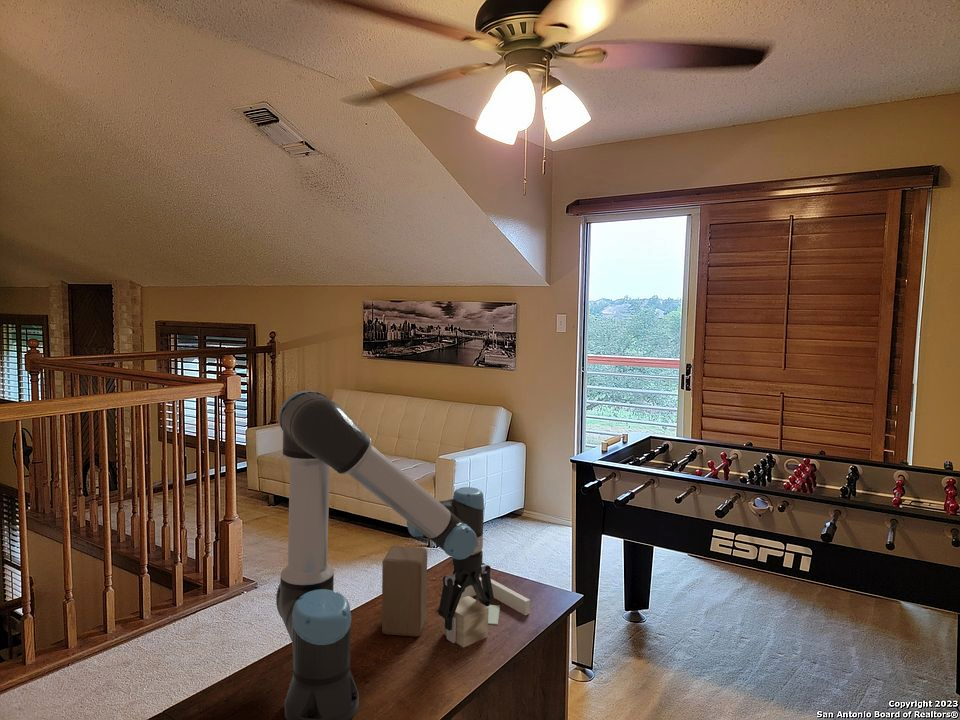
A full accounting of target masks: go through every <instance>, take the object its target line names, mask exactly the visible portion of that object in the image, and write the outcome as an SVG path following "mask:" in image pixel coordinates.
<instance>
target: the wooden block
mask: <svg viewBox="0 0 960 720" xmlns="http://www.w3.org/2000/svg"><path fill="white" fill-rule="evenodd" d="M381 566H382V571H381V572H382V576H381V577H382V578H381V579H382V581H381V631H382V634H384V635H390V636H391V635H392V636H403V637H405V636H406V637H419V636H420V634H421V632H422V630H423V627H424V625H425V622H426V619H427V593H428V590H427V589H428V586H427V584H428V550H427V548H424V547H412V546H409V547H408V546H395V545H394V546H391V547H390V548H389V550H388V552H387V553H386V555H385V556H384V557H383V560H382V564H381Z"/></svg>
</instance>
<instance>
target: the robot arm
mask: <svg viewBox="0 0 960 720" xmlns="http://www.w3.org/2000/svg"><path fill="white" fill-rule="evenodd" d="M278 418H279V421H278V422H279V426H280V428H281V430H282V456H283V457H285V458H286V459H287V460H288V461H289V481H288V482H289V483H288V485H289V488H288V490H289V491H288V492H289V493H288V497H289V498H288V500H289V501H288V540H287V542H288V545H287V566H285V567H284V568H283V569H282V570H281V572H280V582H279V585H278V587H277V589H276V596H275V603H276V604H275V605H276V608H277V612H278V614H279V616H280V618H281V619H282V621H283V624H284V627H285V629H286V631H287V633H288V636H289V638H290V640H291V644H292V678H291V681H290V684H289V687H288V690H287V693H286V695H285V696H286V697H285V699H284V717H285V719H286V720H351V719H352V718H353V717H354V716H355V715H356V713H357V711H358V709H359V704H360V703H359V702H360V701H359V690H358V688H357V685H356V682H355V679H354V676H353V673H352V671H351V670H352V669H351V624H352V613H351V607H350V602H349V600H348V599H347V598H346V597H345V596H344V595H343V594H342V593H340V592H338V591H337V592H335V591H334V589H335V588H334V586H335V583H334V581H335V579H334V576H335V575H334V574H335V572H334V571H335V570H334V568H333V567H332V566H331V565H330V564H329V563H328V553H329V552H328V549H329V548H328V547H329V543H328V542H329V512H330V510H329V508H330V506H329V505H330V504H329V502H330V471H331V468H332V469H333V470H334V471H336V472H337V473H338V474H340V475H345V474H347V475H349V476H350V477H351V478H352V479H354V480H355V481H356V482H358V483H359V484H360V485H361V486H362V487H364V488H365V489H366V490H368V491H369V492H370V493H371V494H373V495H374V496H375V497H377V498H378V499H379V500H380V501H382V502H383V503H384V504H385V505H386V506H387V507H388V508H390V509H391V510H392V511H394V512H395V513H396V514H398V515H399V516H401V518H403V520H405V521H406V526H407V530H408V533H409V534H410V535H411V536H412V537H414V538H415V537H416V538H417V537H423V538H424V536H425V537H427V538H428V539H429V540H430V541H431V542H432V543H434V544H435V545H436V546H438V547H439V548H440V549H441V550H443V551H444V553H445V554H446V555H448V556H449V557H451V558H452V566H453V572H452V574H450V575H448V576H447V575H444V576H443V577H442V582H443V583H442V584H443V585H442V591H441V596H440V601H439V606H438V612H437V614H438V615H439V616H440V617H442V618H443V619H444V618H445V629H447V636H446V640H448V641H449V642H450V643H452V644H456V617H454V614H455V611H456V608H457V606H458V603H459V600H460V598H461V595H462V593H463V592H464V591H465V588H466V587H468V586H470V585H472V586H473V588H474V591H475V593H476V595H475V596H476V597H477V599H478V600H477V601H478V602H480V603H482V604H484V605H485V606H489V605H491V602H490V601H493V600H494V599H495V598H494V596H493V590H492V584H491V579H492V578H491V565H489V564H486V563H485V562H483V558H484V557H483V553H484V552H483V545H484V511H485V503H484V502H485V500H484V493H483V492H482V490H481V489H478V488H476V487H470V486H465V487H459V488H457V489H455V490H454V491H453V496H452V498H449V499H446V500H438V499H436V498H435V497H434V496H433V495H432V494H431V493H429V492H428V491H427V490H426V489H425V488H423V487H422V486H421V485H420V484H419V483H417V482H416V481H415V480H414V479H413V478H412V477H411V476H409V475H408V474H407V473H406V472H404V471H403V470H402V469H401V468H399V467H398V466H397V465H396V464H395V463H394V462H393V461H392V460H390V459H389V458H388V457H387V456H385V455H384V454H383V453H382V452H381V451H379V450H378V449H377V448H376V447H375V446H373V444H372V439H371V437H370V436H369V435H368V434H367V433H366V432H365V431H364V430H362V428H360V427H359V425H357V424H356V423H355V421H354V420H353V419H352V418H351V417H350V416H349V414H348V413H347V412H346V411H345V410H344V409H343V408H342V406H340V405H339V404H338V403H336V402H334V401H332V400H331V398H329V397H328V396H326V395H325V394H323V393H321V392H319V391H313V390H301V391H298V392H295V393H294V394H291V396H289V397H288V398H287V399H286V400H285V401H284V402H283V404H282V405H281V408H280V410H279V415H278ZM480 577H481V580H482V586H483V588H482V586H481V581H480V579H479V578H480ZM458 585H459V586H461V587H459V586H458ZM449 611H450V612H449Z"/></svg>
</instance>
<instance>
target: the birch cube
mask: <svg viewBox="0 0 960 720" xmlns="http://www.w3.org/2000/svg"><path fill="white" fill-rule="evenodd" d="M449 612H450V611H449ZM488 613H489V607H487V606H485V605H484V604H482V603H480V602H479V600H477V599H475V598H474V597H470V596H466V597H464V598H461V599H460V600H459V603H458V606H457V608H456V611H455V614H454V617H456V642H455V644H457V645H459V646H460V647H462V648H465V647H468V646H471V645H473V644H475V643H477V642H480V641H483V640H484V639H487V638H488V637H489V624H488ZM443 635H444V636H446V637H447V629H445V618H443Z"/></svg>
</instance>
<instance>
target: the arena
mask: <svg viewBox="0 0 960 720" xmlns="http://www.w3.org/2000/svg"><path fill="white" fill-rule="evenodd" d="M479 579H480V581H481V586H482V580H481V576H479ZM491 584H492V590H493V596H494V599H496V600H497V601H499V602H501V603H502V604H504V605H506V606H508V607H510V608H512V609H513V610H515V612H518V613H520V614H522V615H524V616H526V617H527V615H530V614H531V613H530V610H531V599H530V598H528V597H526V596H524V595H522V594H520V593H518V592H516V591H514V590H512V589H511V588H509V587H507V586H505V585H503V584H502V583H499V582H497V581H496V580H494V579H493V578H491ZM458 586H459V585H458ZM459 587H461V586H459ZM482 588H483V586H482ZM466 596H470V597H472V598H474V596H477V595H476V593H475V591H474V588H473V586H472V585H470V586H468V587H466V588H465V591H464V592H463V593H462V595H461V598H464V597H466ZM461 598H460V599H461ZM487 607H489V613H488V625H494V626H495V625H496V626H498V625H499V617H500V607H501V605H498V604H497V605H496V604H490V605H489V606H487Z"/></svg>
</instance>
